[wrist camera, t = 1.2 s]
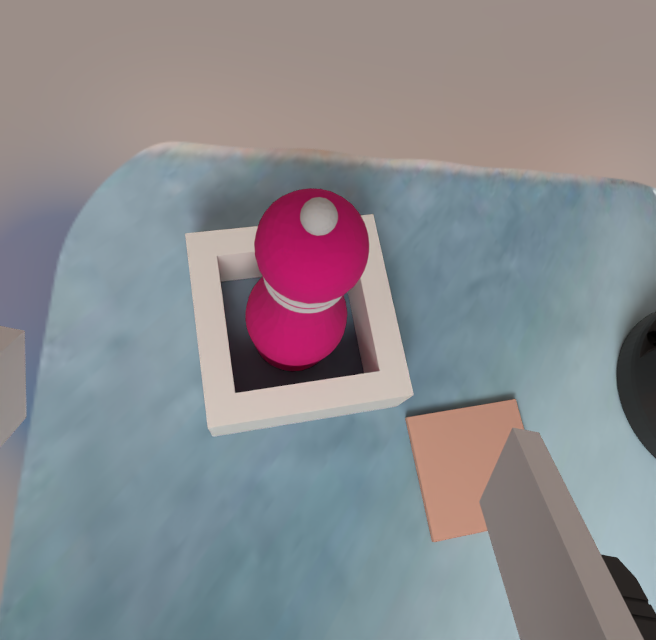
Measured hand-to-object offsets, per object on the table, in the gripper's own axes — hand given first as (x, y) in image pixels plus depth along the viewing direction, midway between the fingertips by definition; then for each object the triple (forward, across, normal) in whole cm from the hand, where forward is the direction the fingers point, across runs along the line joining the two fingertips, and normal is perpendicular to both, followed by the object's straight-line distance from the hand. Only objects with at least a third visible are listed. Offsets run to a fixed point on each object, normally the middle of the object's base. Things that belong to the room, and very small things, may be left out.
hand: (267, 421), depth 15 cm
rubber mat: (+21, +16, -17) cm, 32 cm away
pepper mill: (+27, +1, -12) cm, 29 cm away
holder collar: (+27, +1, -11) cm, 29 cm away
